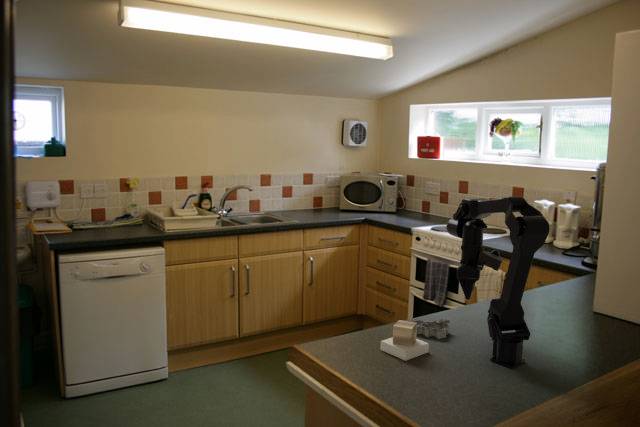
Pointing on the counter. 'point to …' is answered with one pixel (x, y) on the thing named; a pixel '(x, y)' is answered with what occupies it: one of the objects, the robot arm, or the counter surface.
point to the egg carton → (432, 328)
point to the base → (404, 349)
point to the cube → (404, 333)
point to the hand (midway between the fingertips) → (469, 294)
